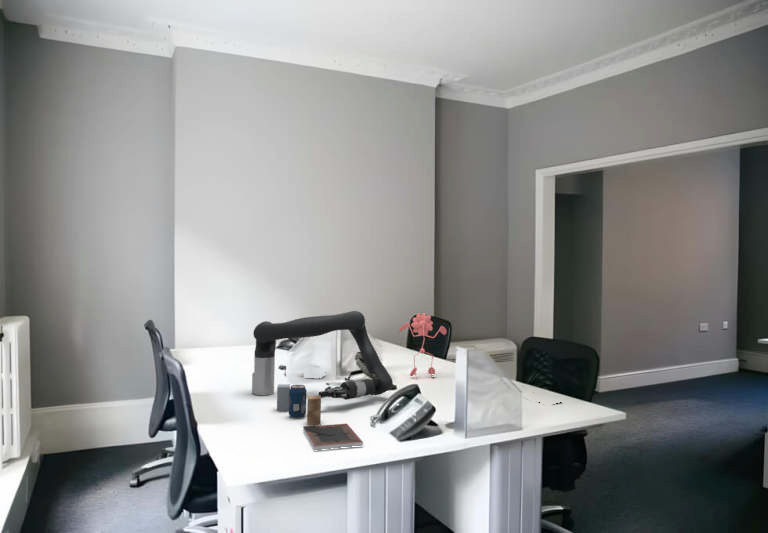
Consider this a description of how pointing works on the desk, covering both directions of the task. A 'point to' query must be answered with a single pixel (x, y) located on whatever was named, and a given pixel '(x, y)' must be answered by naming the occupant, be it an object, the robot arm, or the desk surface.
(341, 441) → the picture frame
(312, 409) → the walnut block
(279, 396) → the slate block
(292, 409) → the soda can
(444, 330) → the pink toy figure
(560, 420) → the desk surface
